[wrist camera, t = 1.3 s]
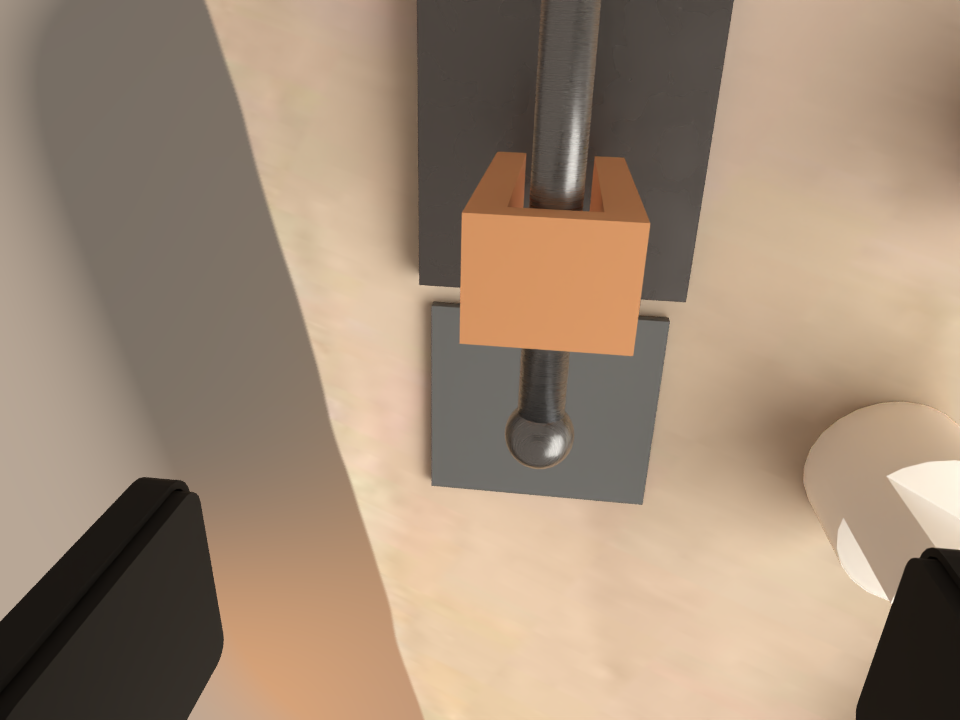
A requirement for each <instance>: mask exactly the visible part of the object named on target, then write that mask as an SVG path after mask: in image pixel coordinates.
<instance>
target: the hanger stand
mask: <svg viewBox="0 0 960 720" xmlns="http://www.w3.org/2000/svg"><path fill="white" fill-rule="evenodd" d="M733 2H734V0H417V43H418V170H419V285H429V286H444V287H459V288H460V287H461V230H462V212H463V210H464V208H465V206H466V205H467V203H468V201H469V200H470V198H471V196H472V194H473V193H474V191H475V189H476V188H477V186H478V184H479V182H480V181H481V179H482V177H483V176H484V174H485V172H486V170H487V169H488V167H489V165H490V164H491V162H492V160H493V158H494V157H495V155H496V153H497V152H516V153H526V169H525V187H524V206H523V208H535V209H554V210H572V211H590V201H591V190H592V180H593V169H594V158H595V156H600V157H621V158H625V161H626V163H627V166H628V168H629V171H630V173H631V176H632V178H633V181H634V183H635V186H636V188H637V191H638V193H639V196H640V198H641V201H642V203H643V206H644V208H645V211H646V213H647V216H648V218H649V221H650V231H649V238H648V246H647V254H646V261H645V269H644V277H643V285H642V292H641V299H644V300H659V301H674V302H686V298H687V292H688V285H689V279H690V273H691V266H692V260H693V254H694V248H695V241H696V235H697V229H698V222H699V216H700V210H701V203H702V197H703V191H704V185H705V178H706V172H707V166H708V159H709V153H710V147H711V140H712V134H713V128H714V122H715V115H716V109H717V103H718V96H719V90H720V84H721V77H722V71H723V65H724V58H725V52H726V46H727V40H728V33H729V27H730V21H731V14H732V8H733ZM569 358H570V352H568V351H554V350H541V349H527V348H521V359H520V376H519V394H518V407H517V408H516V409H515V410H514V411H513V412H512V413H511V415H510V416H509V418H508V420H507V423H506V427H505V441H506V445H507V448H508V450H509V452H510V453H511V455H512V456H513V457H514V458H515V459H516V460H517V461H518V462H519V463H521V464H522V465H524V466H526V467H529V468H533V469H547V468H550V467H553V466H555V465H557V464H559V463H560V462H561V461H563V460H564V459H565V458H566V457H567V455H568V454H569V452H570V450H571V448H572V446H573V442H574V427H573V423H572V421H571V419H570V417H569V415H568V414H567V413H566V411H565V403H566V392H567V381H568V370H569Z"/></svg>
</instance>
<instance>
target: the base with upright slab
mask: <svg viewBox="0 0 960 720" xmlns="http://www.w3.org/2000/svg"><path fill="white" fill-rule="evenodd" d="M803 483H804V487H805V490H806V494H807V497H808V499H809V501H810V503H811V505H812V507H813V509H814V511H815V513H816V515H817V517H818V519H819V521H820V523H821V525H822V527H823V529H824V532H825V534H826V536H827V538H828V540H829V542H830V544H831V546H832V548H833V550H834V552H835V554H836V556H837V558H838V560H839V562H840V564H841V566H842V567H843V568H844V570H845V571H846V573H847V574H848V575H849V577H850V578H851V580H852V581H853V582H855V583H856V584H857V585H859V586H860V587H861V588H863V589H864V590H865V591H867V592H868V593H871V594H873V595H876V596H878V597H880V598H883V599H885V600H888V601H890V603H891V604H892V603H893V600H894V597H895V595H896V592H897V589H898V586H899V583H900V580H901V577H902V574H903V572H904V569H905V566H906V564H907V562H908V561H909V560H910V559H911V558H920V556H921V554H922V553H923V552H924V551H925V550H926V549H927V548H932V547H934V548H945V549H956V550H960V426H959V425H958V424H957V423H955V422H954V421H953V420H952V419H951V418H949V417H948V416H947V415H946V414H945V413H943V412H941V411H938V410H936V409H934V408H931V407H929V406H927V405H923V404H917V403H911V402H904V401H901V402H886V403H878V404H875V405H871V406H867V407H864V408H860V409H857V410H855V411H854V412H852V413H850V414H848V415H846V416H844V417H842V418H840V419H838V420H837V421H836V422H835V423H833V424H832V425H831V426H830V427H829V428H827V429H826V430H825V431H824V432H823V433H822V434H821V435H820V436H819V438H818V439H817V441H816V442H815V443H814V445H813V446H812V447H811V449H810V451H809V454H808V457H807V459H806V462H805V464H804V477H803Z"/></svg>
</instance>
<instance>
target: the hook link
mask: <svg viewBox="0 0 960 720" xmlns="http://www.w3.org/2000/svg"><path fill="white" fill-rule="evenodd" d="M525 169H526V153H516V152H497V153H496V155H495V157H494V158H493V160H492V162H491V164H490V165H489V167H488V169H487V170H486V172H485V174H484V176H483V177H482V179H481V181H480V182H479V184H478V186H477V188H476V189H475V191H474V193H473V194H472V196H471V198H470V200H469V201H468V203H467V205H466V206H465V208H464V210H463V212H462V230H461V287H460V343H459V344H471V345H485V346H499V347H513V348H527V349H541V350H554V351H568V352H582V353H596V354H610V355H623V356H633V354H634V346H635V338H636V331H637V323H638V315H639V308H640V300H641V292H642V285H643V277H644V269H645V261H646V254H647V246H648V238H649V231H650V221H649V218H648V216H647V213H646V211H645V208H644V206H643V203H642V201H641V198H640V196H639V193H638V191H637V188H636V186H635V183H634V181H633V178H632V176H631V173H630V171H629V168H628V166H627V163H626V161H625V158H621V157H600V156H595V158H594V169H593V180H592V190H591V201H590V211H572V210H554V209H535V208H523V206H524V187H525Z"/></svg>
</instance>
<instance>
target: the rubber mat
mask: <svg viewBox="0 0 960 720" xmlns="http://www.w3.org/2000/svg"><path fill="white" fill-rule="evenodd" d="M669 324H670V321H669V318H662V317H647V316H638V323H637V331H636V338H635V346H634V354H633V356H623V355H610V354H596V353H582V352H570V358H569V370H568V381H567V392H566V403H565V411H566V413H567V414H568V415H569V417H570V419H571V421H572V423H573V427H574V442H573V446H572V448H571V450H570V452H569V454H568V455H567V457H566V458H565V459H564V460H563V461H561V462H560V463H559V464H557V465H555V466H553V467H550V468H547V469H533V468H529V467H526V466H524V465H522V464H521V463H519V462H518V461H517V460H516V459H515V458H514V457H513V456H512V455H511V453H510V452H509V450H508V448H507V445H506V441H505V427H506V423H507V420H508V418H509V416H510V415H511V413H512V412H513V411H514V410H515V409H516V408H517V407H518V394H519V376H520V359H521V348H513V347H499V346H485V345H471V344H459V343H460V304H454V303H439V302H433V304H432V486H441V487H452V488H463V489H474V490H485V491H496V492H507V493H518V494H529V495H540V496H551V497H562V498H573V499H584V500H595V501H606V502H617V503H628V504H639V505H642V504H643V497H644V490H645V484H646V477H647V470H648V464H649V457H650V450H651V444H652V437H653V430H654V424H655V417H656V411H657V404H658V397H659V391H660V384H661V377H662V371H663V364H664V357H665V351H666V344H667V337H668V331H669Z"/></svg>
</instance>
